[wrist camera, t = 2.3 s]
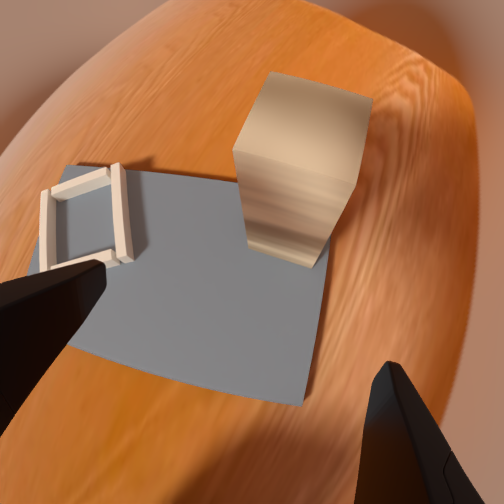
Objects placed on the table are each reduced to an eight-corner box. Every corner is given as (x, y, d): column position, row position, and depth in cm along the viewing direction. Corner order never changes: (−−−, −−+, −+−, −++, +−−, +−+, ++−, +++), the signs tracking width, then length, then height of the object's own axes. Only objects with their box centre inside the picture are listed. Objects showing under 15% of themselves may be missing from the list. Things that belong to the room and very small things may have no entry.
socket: (134, 261, 23) (126, 255, 22) (50, 283, 23) (40, 279, 21) (125, 171, 25) (119, 162, 24) (49, 198, 25) (41, 191, 24)
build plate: (300, 404, 21) (301, 406, 20) (22, 323, 23) (16, 321, 22) (332, 205, 25) (335, 199, 24) (71, 169, 27) (66, 164, 26)
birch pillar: (311, 268, 22) (356, 185, 11) (248, 248, 23) (232, 149, 11) (328, 210, 24) (373, 98, 12) (269, 192, 24) (270, 71, 13)
